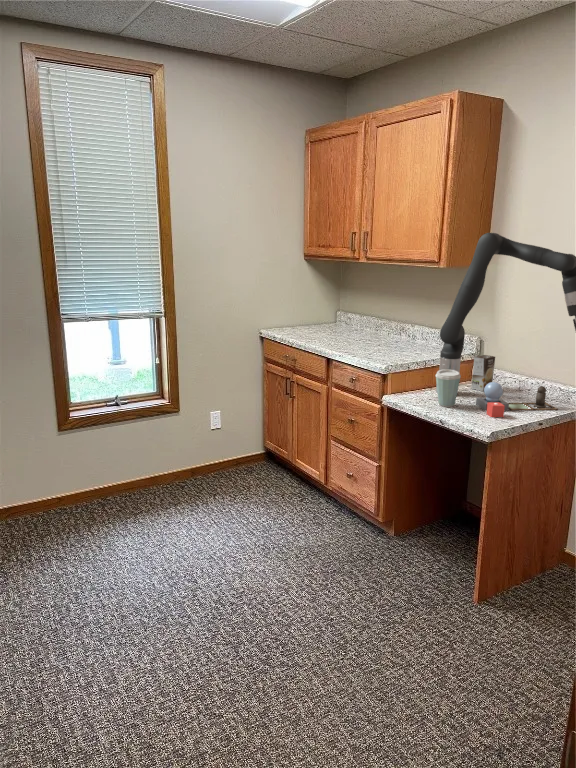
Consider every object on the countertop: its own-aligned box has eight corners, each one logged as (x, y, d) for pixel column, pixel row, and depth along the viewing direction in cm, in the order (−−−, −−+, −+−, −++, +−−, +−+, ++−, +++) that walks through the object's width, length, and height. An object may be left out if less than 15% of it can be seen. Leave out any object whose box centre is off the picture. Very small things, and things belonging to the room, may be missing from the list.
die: (491, 417, 228) (492, 405, 227) (486, 414, 233) (487, 402, 232) (503, 417, 228) (504, 405, 227) (498, 413, 233) (499, 401, 232)
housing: (485, 410, 237) (486, 404, 237) (475, 404, 247) (476, 397, 246) (508, 410, 238) (509, 403, 237) (497, 404, 248) (498, 397, 247)
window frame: (510, 410, 238) (510, 409, 238) (500, 404, 248) (500, 402, 248) (557, 410, 240) (557, 408, 240) (545, 403, 250) (545, 402, 249)
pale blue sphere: (487, 404, 238) (489, 384, 236) (480, 399, 245) (482, 380, 243) (504, 404, 239) (507, 384, 237) (497, 399, 246) (499, 380, 244)
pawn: (537, 408, 242) (539, 387, 239) (531, 405, 247) (533, 384, 244) (548, 408, 242) (550, 387, 240) (542, 405, 247) (544, 384, 245)
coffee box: (482, 391, 269) (486, 358, 265) (470, 389, 273) (473, 356, 270) (492, 388, 275) (495, 356, 271) (480, 386, 280) (483, 354, 276)
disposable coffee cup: (459, 409, 239) (462, 375, 235) (433, 407, 241) (436, 373, 237) (457, 402, 249) (460, 369, 245) (432, 401, 251) (434, 368, 247)
